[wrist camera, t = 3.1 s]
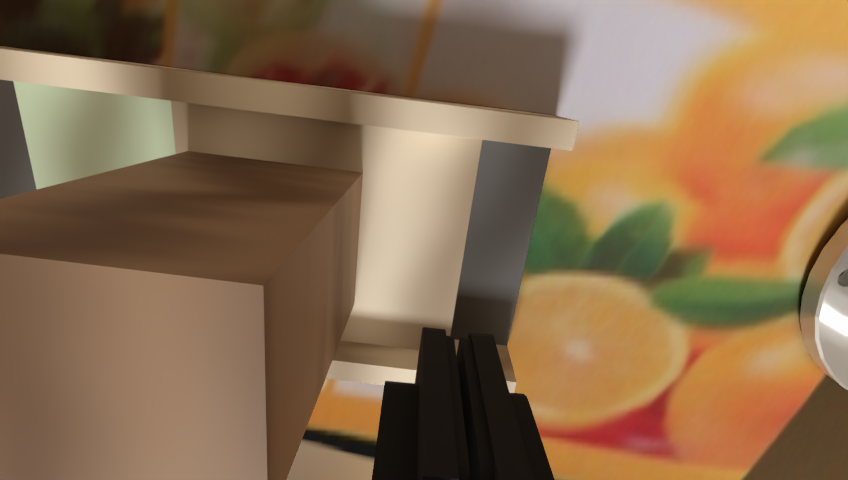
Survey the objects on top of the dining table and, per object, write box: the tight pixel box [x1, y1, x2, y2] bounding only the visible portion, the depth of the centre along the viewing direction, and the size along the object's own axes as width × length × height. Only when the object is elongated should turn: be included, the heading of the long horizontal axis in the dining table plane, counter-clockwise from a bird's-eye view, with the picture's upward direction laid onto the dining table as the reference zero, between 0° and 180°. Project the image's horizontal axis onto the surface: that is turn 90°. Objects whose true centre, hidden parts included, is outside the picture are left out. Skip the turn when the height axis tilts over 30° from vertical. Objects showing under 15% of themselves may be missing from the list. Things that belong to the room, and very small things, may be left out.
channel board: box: [0, 46, 579, 393], centre depth 17 cm, size 28×12×4 cm, turn 83°
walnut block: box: [0, 151, 363, 480], centre depth 13 cm, size 7×6×10 cm
